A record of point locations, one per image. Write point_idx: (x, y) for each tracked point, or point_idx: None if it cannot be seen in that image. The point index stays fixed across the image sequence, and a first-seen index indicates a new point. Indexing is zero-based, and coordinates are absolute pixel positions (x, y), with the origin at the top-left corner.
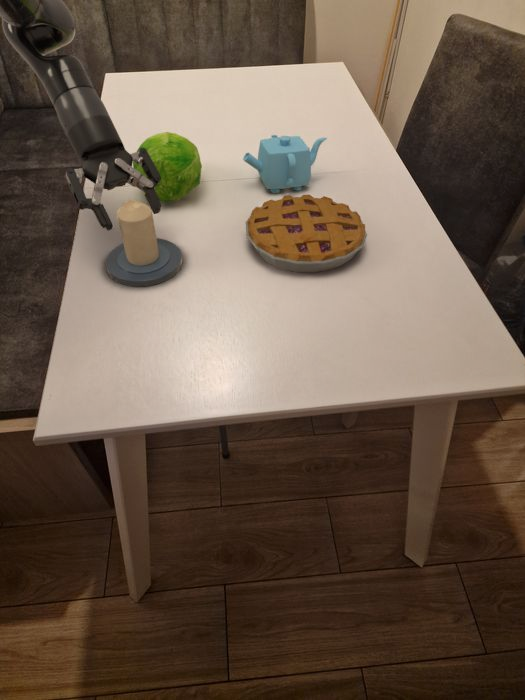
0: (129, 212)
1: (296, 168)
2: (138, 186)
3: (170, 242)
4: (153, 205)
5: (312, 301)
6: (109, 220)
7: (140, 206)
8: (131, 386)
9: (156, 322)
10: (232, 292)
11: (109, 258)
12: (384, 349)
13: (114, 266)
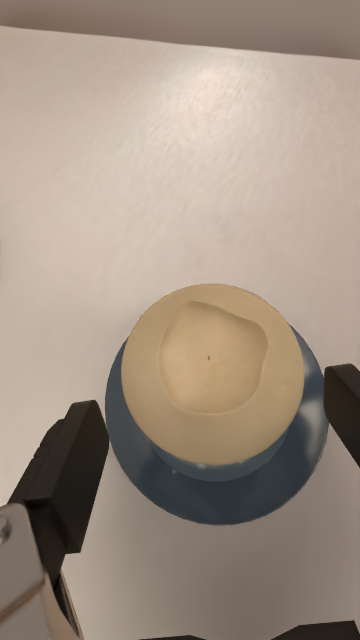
0: (245, 309)
1: None
2: (72, 622)
3: (111, 434)
4: (89, 429)
5: (3, 160)
6: (346, 377)
7: (176, 308)
8: (330, 103)
9: (253, 200)
10: (91, 220)
11: (312, 447)
12: (6, 74)
13: (304, 396)
